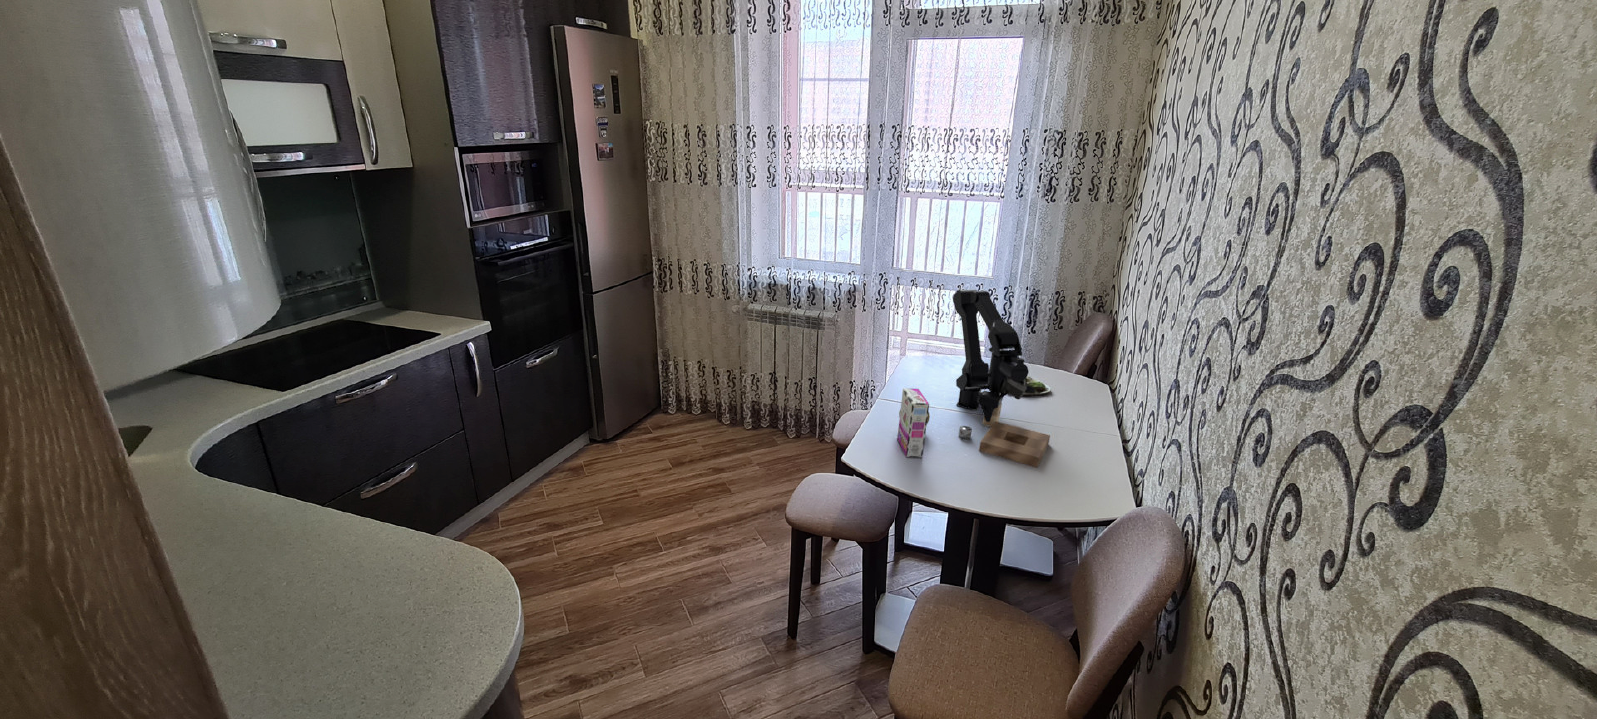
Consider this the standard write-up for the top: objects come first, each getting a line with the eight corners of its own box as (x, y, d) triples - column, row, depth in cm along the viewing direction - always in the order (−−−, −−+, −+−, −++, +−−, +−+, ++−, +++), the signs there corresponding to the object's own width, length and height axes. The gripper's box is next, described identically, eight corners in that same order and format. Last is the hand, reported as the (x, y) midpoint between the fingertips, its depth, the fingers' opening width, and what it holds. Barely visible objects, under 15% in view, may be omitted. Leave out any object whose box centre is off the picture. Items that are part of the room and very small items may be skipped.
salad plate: (983, 378, 229) (985, 366, 228) (1026, 376, 233) (1028, 364, 232) (1011, 399, 212) (1013, 387, 210) (1056, 396, 216) (1059, 384, 214)
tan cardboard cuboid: (982, 424, 192) (985, 403, 189) (985, 419, 195) (989, 399, 192) (995, 427, 190) (998, 407, 187) (998, 423, 193) (1002, 402, 191)
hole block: (978, 450, 175) (980, 441, 174) (993, 430, 188) (995, 421, 187) (1037, 467, 168) (1039, 457, 167) (1048, 444, 180) (1050, 435, 179)
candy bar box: (923, 458, 170) (930, 404, 164) (906, 458, 170) (912, 404, 164) (913, 439, 181) (919, 387, 175) (896, 439, 180) (901, 387, 174)
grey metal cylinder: (956, 438, 182) (958, 429, 181) (960, 433, 185) (961, 424, 184) (968, 441, 181) (970, 432, 180) (972, 436, 184) (973, 427, 182)
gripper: (1019, 385, 175) (1010, 434, 180) (1033, 366, 190) (1024, 412, 195) (980, 376, 180) (973, 424, 185) (996, 358, 195) (989, 403, 200)
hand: (991, 416), depth 191 cm, fingers open, 9 cm apart
